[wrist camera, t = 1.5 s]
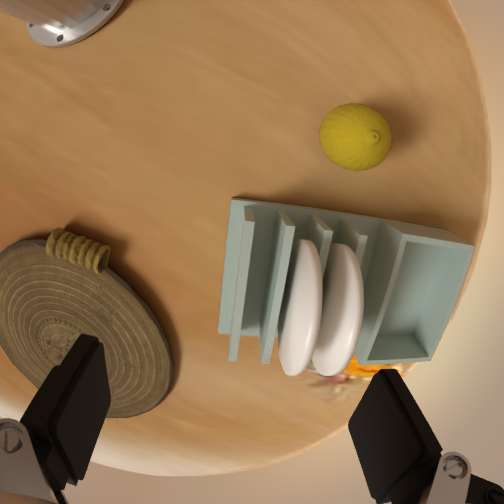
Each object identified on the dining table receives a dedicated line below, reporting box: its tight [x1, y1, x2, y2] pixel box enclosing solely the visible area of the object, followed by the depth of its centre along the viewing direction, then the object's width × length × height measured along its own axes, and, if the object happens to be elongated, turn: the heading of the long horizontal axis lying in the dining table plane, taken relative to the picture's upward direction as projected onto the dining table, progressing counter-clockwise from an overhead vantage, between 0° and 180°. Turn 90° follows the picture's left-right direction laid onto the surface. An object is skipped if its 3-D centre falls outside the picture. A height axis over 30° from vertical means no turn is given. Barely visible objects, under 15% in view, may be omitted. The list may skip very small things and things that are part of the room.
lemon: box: [319, 103, 392, 171], centre depth 23 cm, size 6×6×8 cm
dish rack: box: [218, 198, 475, 376], centre depth 26 cm, size 14×24×12 cm, turn 83°
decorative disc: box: [0, 228, 173, 418], centre depth 32 cm, size 29×3×30 cm
